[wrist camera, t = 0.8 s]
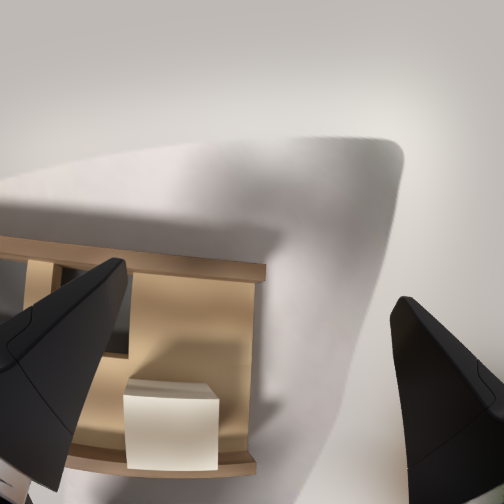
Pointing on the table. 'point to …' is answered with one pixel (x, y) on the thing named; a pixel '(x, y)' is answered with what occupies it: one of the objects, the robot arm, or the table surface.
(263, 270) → the box
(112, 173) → the table surface
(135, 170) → the table surface
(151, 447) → the block
